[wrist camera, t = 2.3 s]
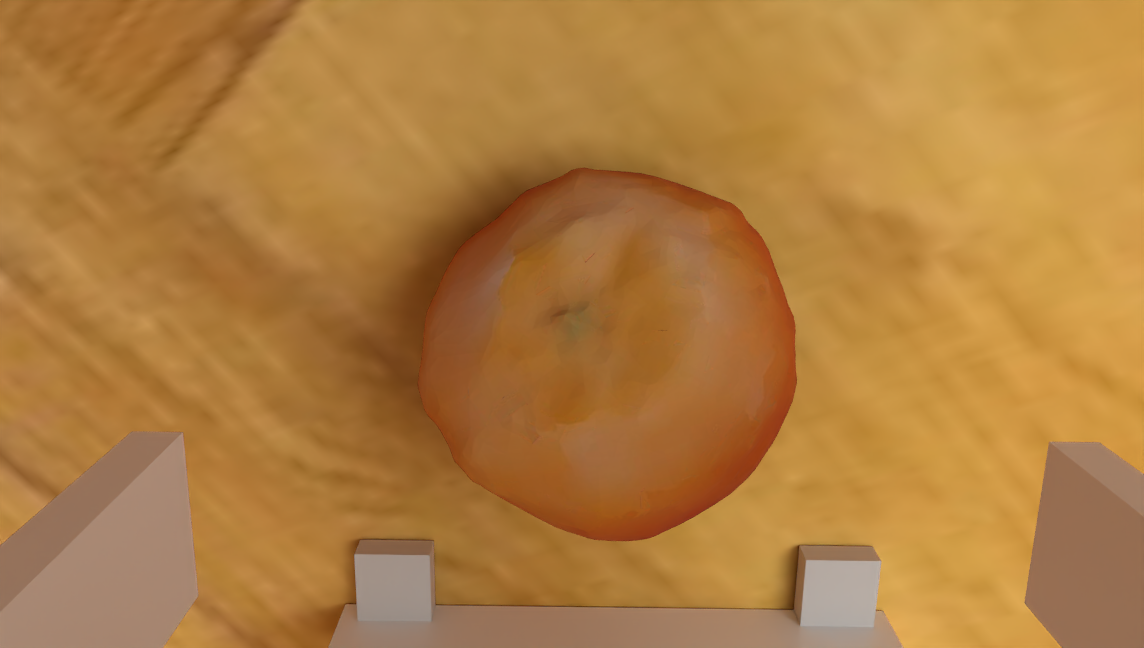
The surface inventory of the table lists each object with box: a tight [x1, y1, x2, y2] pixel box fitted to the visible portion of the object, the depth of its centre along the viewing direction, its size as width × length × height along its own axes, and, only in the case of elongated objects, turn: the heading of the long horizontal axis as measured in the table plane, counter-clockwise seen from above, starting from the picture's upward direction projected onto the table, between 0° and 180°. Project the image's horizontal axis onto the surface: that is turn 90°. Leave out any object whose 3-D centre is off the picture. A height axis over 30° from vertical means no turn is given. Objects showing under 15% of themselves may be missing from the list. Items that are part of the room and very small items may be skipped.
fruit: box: [418, 168, 797, 541], centre depth 22 cm, size 8×8×8 cm
